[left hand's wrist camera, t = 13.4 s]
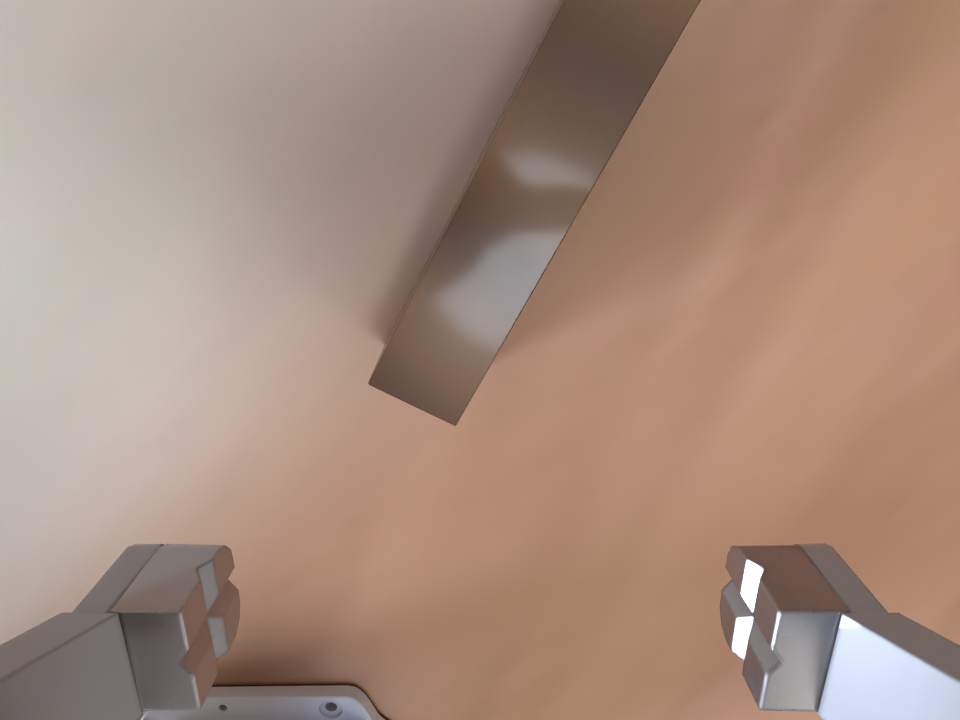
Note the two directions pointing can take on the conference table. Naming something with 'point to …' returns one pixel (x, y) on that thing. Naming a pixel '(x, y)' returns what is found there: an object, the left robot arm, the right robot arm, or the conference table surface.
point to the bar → (525, 195)
